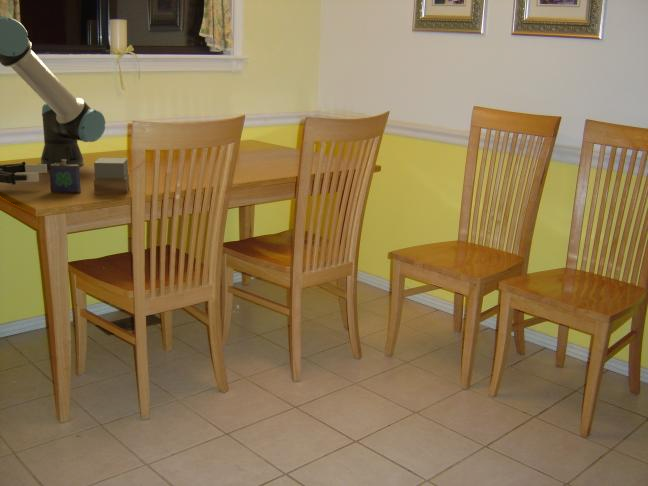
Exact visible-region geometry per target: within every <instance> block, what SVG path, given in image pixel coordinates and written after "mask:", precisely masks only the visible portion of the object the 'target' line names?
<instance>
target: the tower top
mask: <svg viewBox="0 0 648 486" xmlns="http://www.w3.org/2000/svg"><path fill="white" fill-rule="evenodd" d="M128 161H129V160H128V157H123V158H122V157H98V158H97V159H96V160H95V161H94V163H93V166H94V167H93V169H94V178H95V179H124V178H125V177H126V175H127V174H128V173H129V164H128Z"/></svg>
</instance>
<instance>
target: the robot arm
mask: <svg viewBox="0 0 648 486" xmlns="http://www.w3.org/2000/svg"><path fill="white" fill-rule="evenodd" d="M28 36H29V34H28V31H27V29H26V28H25V26H24V25H23V24H22V23H21V22H20V21H18V20H17V19H15V18H12V17H10V16H6V15H0V64H1V65H2V66H3V67H7V68H9V67H11V69H12V70H13V71H15V73H16V74H17V75H18V76H19V77H20V78H21V79H22V80H23V81H24V82H25V83H26V85H28V86H29V87H30V88H31V90H33V91H34V92H35V93H36V94H37V96H39V98H40V99H41V100H42V101H43V102H44V103H45V104H43V105H42V107H41V108H42V110H41V116H42V127H43V129H42V130H43V141H44V145H43V149H42V151H41V152H42V153H41V155H40V156H41V157H40V164H37V163H36V164H35V163H34V164H33V163H31V164H30V163H28V164H27V163H26V161H22V162H21V163H18V162H17V163H9V164H8V163H7V164H5V163H4V164H0V183H3V184H8V185H9V184H11V185H13V186H15V185H16V183H35V182H36V183H39V182H40V177H39V176H40V175H39V174H47V173H48V168H49V166H50V164H54V163H56V164H58V163H61V162H62V161H61V160H62V159H65V160H67V161H66V165H75V164H77V165H79V167H81V166H83V165H84V163H85V162H84V157H83V154H82V152H81V150H80V149H81V148H80V147H79V144H78V141H80V142H81V141H82V142H84V143H93V142H97V141H98V140H100V139H101V138H102V136H103V134H104V133H105V129H106V120H105V119H106V118H105V116H104V114H103V113H102V112H101V111H99V110H98V109H95V108H91V107H90V106H89V105H88V104H87V103H86V101H85V100H84V99H83V98H81V97H75V95H73V94H72V93H71V91H70V90H69V89H68V88H67V87H66V86H65V85H64V84H63V83H62V82H61V80H59V78H58V77H57V76H56V74H54V73H53V72H52V71H51V69H49V68H48V66H47V65H46V64H45V63H44V62H43V61H42V59H40V58H39V57H38V55H36V53H35V52H34V51H33V50H32V42H31V41H30V40H29V38H28Z"/></svg>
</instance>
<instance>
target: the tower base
mask: <svg viewBox="0 0 648 486" xmlns="http://www.w3.org/2000/svg"><path fill="white" fill-rule="evenodd" d="M129 189H130V173H129V172H128V174H127V175H126V177H125V178H124V179H95V177H94V178H93V191H94V194H95V195H103V194H104V195H108V194H109V195H114V194H115V195H117V194H118V195H123V194H125V195H127V194H128V192H129Z"/></svg>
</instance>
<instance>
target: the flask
mask: <svg viewBox="0 0 648 486" xmlns="http://www.w3.org/2000/svg"><path fill="white" fill-rule="evenodd" d="M61 161H62V162H61V163H58V164H56V163H54V164H50V166H49V167H48V169H49V181H50V184H49V185H50V193H51V194H81V192H82V190H81V176H80V167H81V166H79V165H77V164H75V165H66V161H67V160H65V159H62V160H61Z"/></svg>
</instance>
